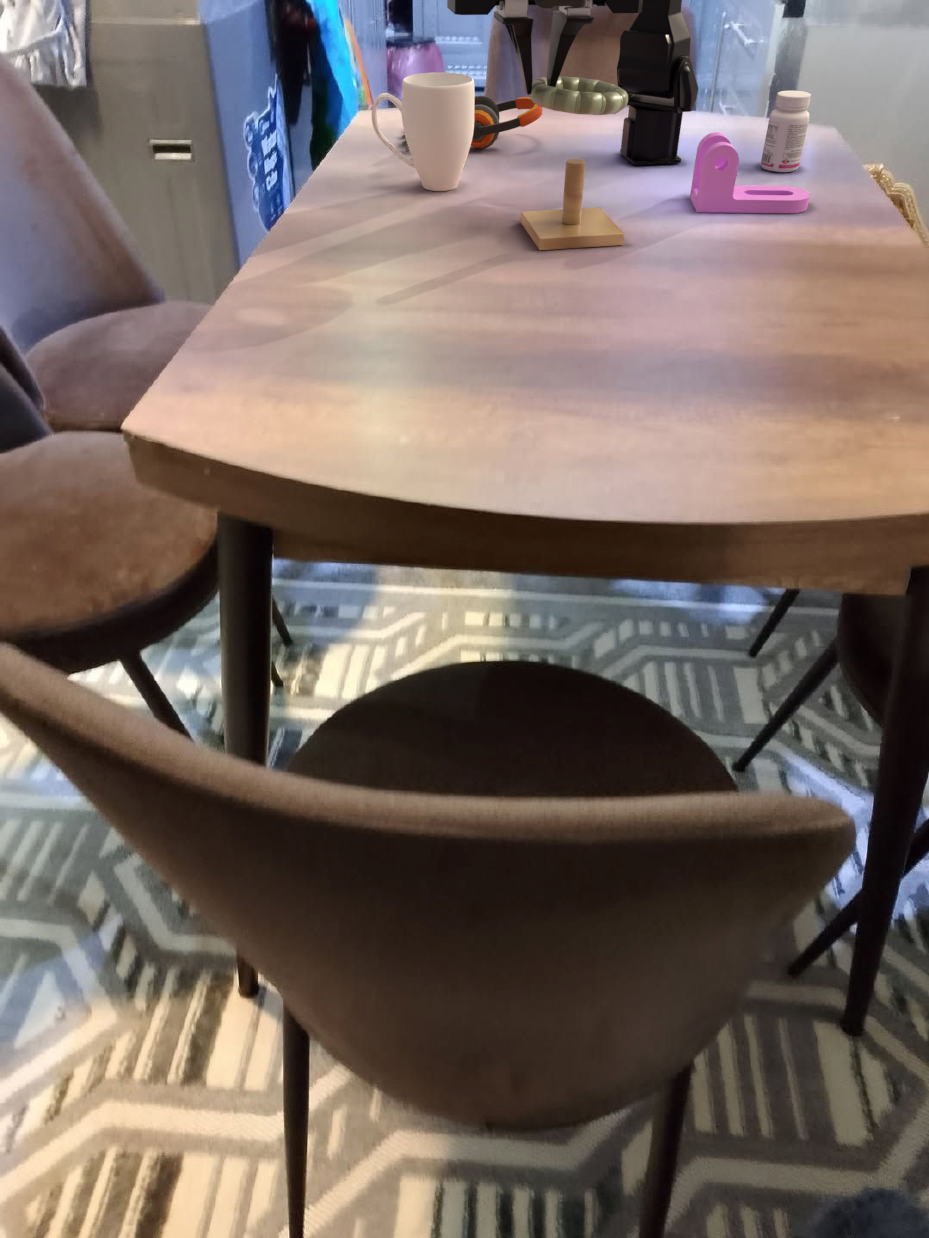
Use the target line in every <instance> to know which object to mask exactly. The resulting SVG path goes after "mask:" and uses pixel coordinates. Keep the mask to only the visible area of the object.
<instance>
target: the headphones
mask: <svg viewBox="0 0 929 1238" xmlns="http://www.w3.org/2000/svg"><path fill="white" fill-rule="evenodd" d="M513 109H517V110H527V111H525V112H523V113H521V114H518V115H517V117H515V118H513V119H509V120H505V121H502V122H500V113H501V112H505V111H508V110H513ZM542 116H543V107H541V106H538V105H536V104H535V103H534V102H533V101H532V100H531V99H530V98H529V96H519V97H517V98H516V99H512V100H505V101H503V102H499V103H496V102H495V101H494V100H493V99H492V98H490V97H488V96H486V95H481V94H480V95H475V102H474V132H473V138H472V142H471V146H470V147H472V148H474V149H478V150H484V149H488V148H489V147H491V146H492V145H493V144H494V143H495V142H496V140H497V139H498V137H499V134H500V133H503V132H506V131H507V132H508V131H511V130H513V129H517V128H524V127H526V126H528V125H531V124H533V123H534V122H536V121H538V119H540V118H541V117H542ZM401 138H402V139H404V138H405V139H406V137H405V134H404V135H401ZM401 144H402V145H401V146H402V147H406V148H405V152H410V150H409V147H408V144H407V141H406V140H403V141H402V142H401Z"/></svg>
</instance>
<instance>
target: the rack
mask: <svg viewBox="0 0 929 1238" xmlns="http://www.w3.org/2000/svg"><path fill="white" fill-rule="evenodd" d="M585 174H586V160H585V159H582V158H569V159H566V160H565V170H564V185H563V200H562V208H561V209H545V210H544V209H543V210H526V211H525V210H523V211H521V212H520V223H521V225H522V227H523V228H524V230H525V231H526V232H527V235H528V236H529V237H530V238H531V241H533V243H534V244H535V245H536V248H537V249H538V250H539V251H550V250H563V249H564V250H566V249H581V248H598V247H615V246H623V245H624V241H625V240H624V239H625V233H624V232H623V230H621V228H620V227H619V226H618V225H617V224H616V223H615V222H614V221H613V220H612V219H611V217H610V216H609V215H608V214H607V213H606V212H605V211H604V210H603V209H602V208H601V206H600V207H599V206H598V207H583V197H584V188H585V187H584V185H585Z"/></svg>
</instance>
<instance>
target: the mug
mask: <svg viewBox="0 0 929 1238" xmlns="http://www.w3.org/2000/svg"><path fill="white" fill-rule="evenodd" d="M475 92H476V91H475V80H474V78H473V77H472V76H470V75H467V74H463V73H459V72H458V73H457V72H446V71H445V72H441V71H436V72H433V71H432V72H421V73H414V74H410V75H407V76H406V77H404V78H403V79H402V82H401V99H399V98H398V97H397V96H394V95H393V94H391V93H388V92H382V93H380V94H379V95H377V96H376V98H375V99H374V101H373V103H372V108H371V123H372V127H373V130H374V133H375V135H376V136H377V137H378V139H379V140H380V141H381V142H382V143H383V144H384V145H385V147H387V148H388V150H389V151H391V153H393V154H394V155H395V156H396V157H398V159H400V160H401V161H402V162H404V163H405V164H406V165H408V166H410V167H412V168H413V169H415V171H416V173H417V175H418V178H419V180H420V183H421V186H422V187H423V189H425V190H428V191H433V192H448V191H452V190H455V189H456V188H458V186H459V183H460V181H461V177H462V174H463V170H464V168H465V164H466V162H467V158H468V155H469V153H470V150H471V147H472V146H471V142H472V138H473V132H474V102H475V96H476V94H475ZM384 100H388V101H389V102H391V103H392V104H393V105H394V106H395V107H396V109H398V110H399V111H400V114H401V120H402V121H401V122H402V127H403V132H404V133H403V134H404V135H405V137H406V138H405V141H407V144H408V145H407V147H409V150H410V151H409V153H410V156H411V158H409V157H407V156H405V155H404V154H403V153H402V152H401V151H400V150H399V149H398V148H397V147H395V146H394V144H392V143H391V141H390V140H388V138H387V137H386V136H385V134H383V132H382V131H381V128H380V126H379V121H378V107H379V104H380V103H381V102H382V101H384Z"/></svg>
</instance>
